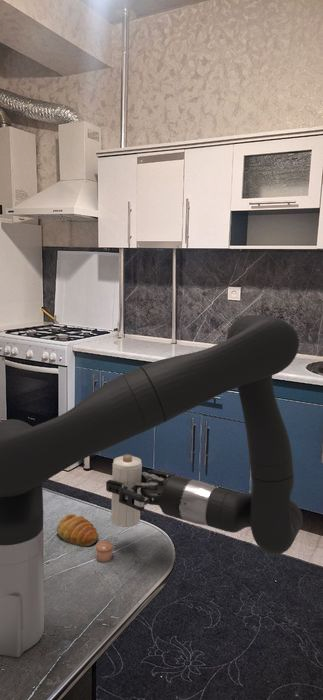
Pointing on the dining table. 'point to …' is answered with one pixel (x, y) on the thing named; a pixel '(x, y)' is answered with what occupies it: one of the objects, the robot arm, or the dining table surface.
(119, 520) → the ribbed lidded canister
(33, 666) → the dining table surface
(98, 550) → the salmon brown knob
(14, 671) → the dining table surface
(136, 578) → the dining table surface
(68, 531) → the pastry
